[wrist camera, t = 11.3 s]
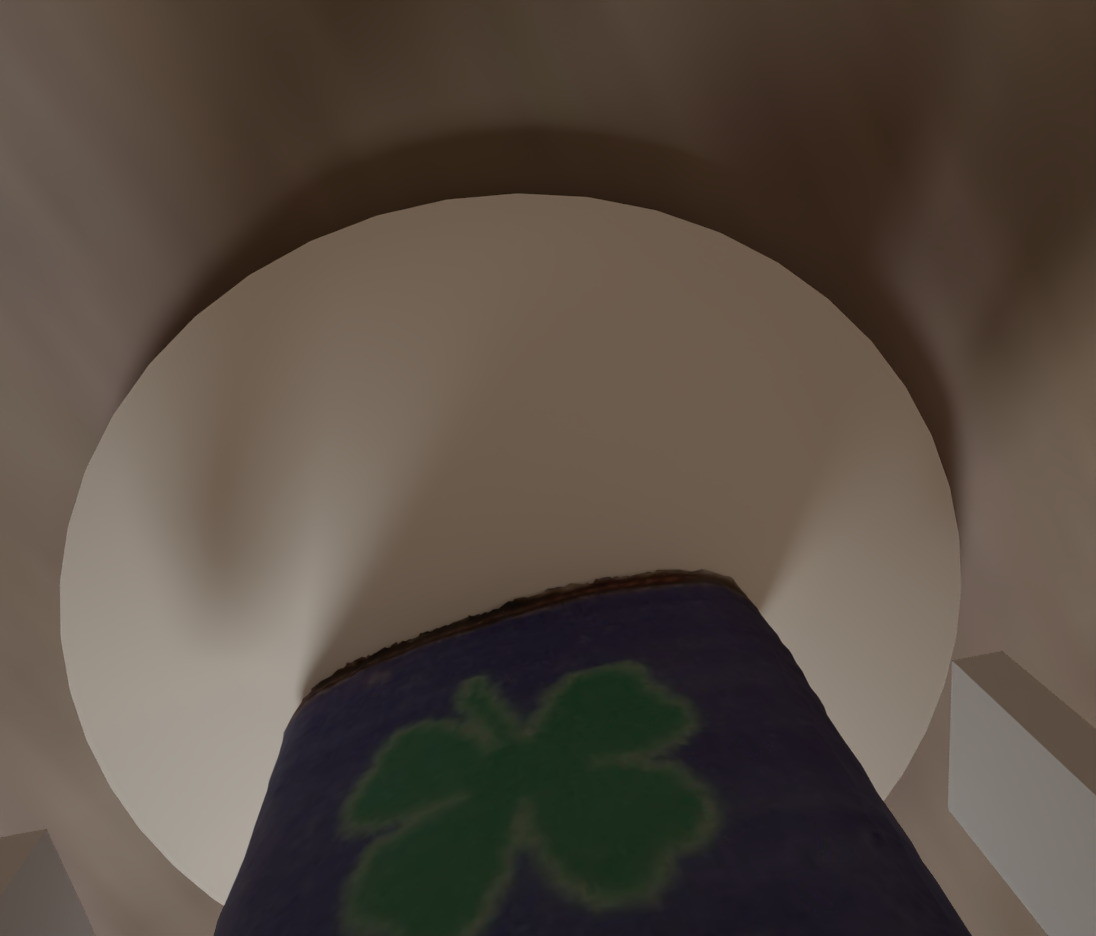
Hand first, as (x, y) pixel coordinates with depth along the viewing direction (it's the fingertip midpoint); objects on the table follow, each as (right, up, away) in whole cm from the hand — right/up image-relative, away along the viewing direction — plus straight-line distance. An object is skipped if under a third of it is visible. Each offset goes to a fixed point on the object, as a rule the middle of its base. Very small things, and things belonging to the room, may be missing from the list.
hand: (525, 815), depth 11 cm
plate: (0, +2, +5) cm, 5 cm away
